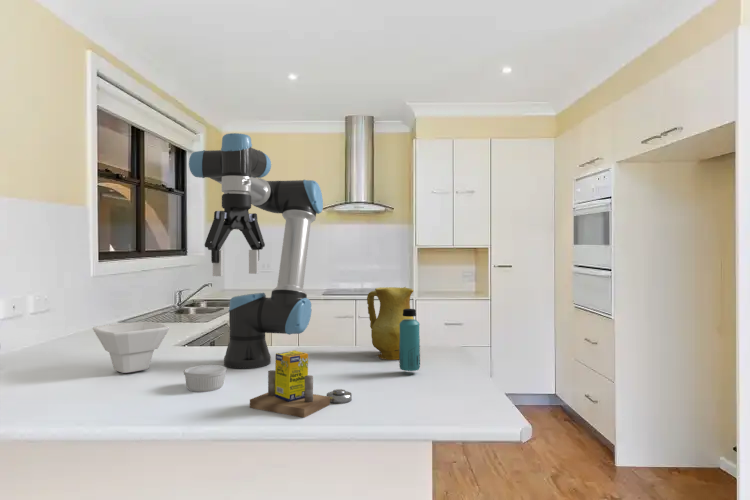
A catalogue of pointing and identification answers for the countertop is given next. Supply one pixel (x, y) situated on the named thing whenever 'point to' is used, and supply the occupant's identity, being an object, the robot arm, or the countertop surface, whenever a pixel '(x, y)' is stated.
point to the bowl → (131, 343)
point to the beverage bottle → (409, 342)
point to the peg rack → (294, 407)
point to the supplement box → (290, 375)
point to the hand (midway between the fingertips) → (236, 275)
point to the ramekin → (205, 377)
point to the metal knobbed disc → (339, 396)
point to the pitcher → (388, 319)
